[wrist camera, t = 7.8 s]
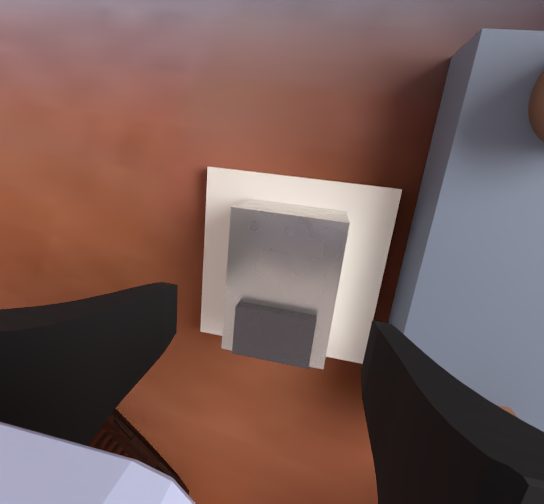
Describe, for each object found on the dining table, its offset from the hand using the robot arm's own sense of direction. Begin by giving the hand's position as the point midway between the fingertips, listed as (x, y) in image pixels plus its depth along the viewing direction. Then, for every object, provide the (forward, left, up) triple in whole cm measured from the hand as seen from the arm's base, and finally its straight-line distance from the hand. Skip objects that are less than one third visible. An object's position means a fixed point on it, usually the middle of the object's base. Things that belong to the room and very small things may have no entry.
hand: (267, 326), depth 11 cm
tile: (0, 0, -7) cm, 7 cm away
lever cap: (0, 0, -6) cm, 6 cm away
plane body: (+2, -10, -7) cm, 12 cm away
